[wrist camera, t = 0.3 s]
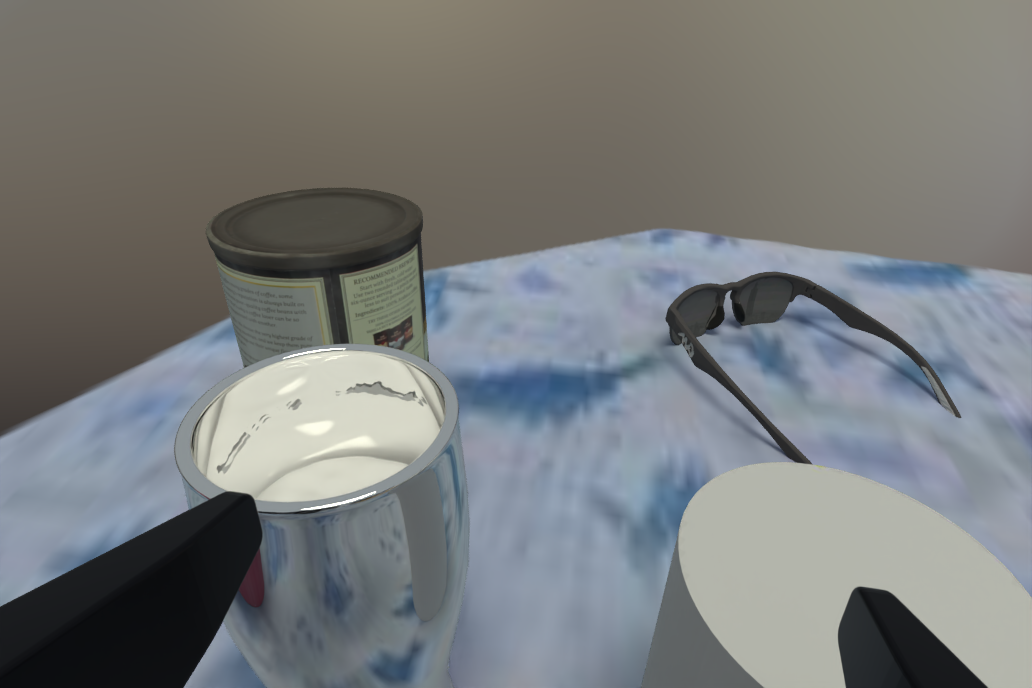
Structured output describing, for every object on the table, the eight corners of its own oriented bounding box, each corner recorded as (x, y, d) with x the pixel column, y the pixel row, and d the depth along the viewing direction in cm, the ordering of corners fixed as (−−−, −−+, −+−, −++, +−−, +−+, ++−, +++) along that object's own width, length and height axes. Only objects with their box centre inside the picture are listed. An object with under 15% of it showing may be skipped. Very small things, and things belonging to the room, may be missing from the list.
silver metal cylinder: (387, 902, 18) (314, 579, 10) (238, 765, 21) (96, 437, 13) (508, 702, 23) (520, 387, 15) (375, 615, 26) (329, 316, 18)
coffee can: (314, 379, 42) (278, 180, 35) (454, 398, 40) (447, 194, 33) (225, 479, 33) (153, 241, 26) (400, 509, 32) (375, 264, 24)
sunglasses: (784, 310, 54) (804, 262, 51) (958, 436, 42) (997, 382, 39) (633, 345, 48) (646, 292, 45) (786, 503, 36) (817, 445, 33)
